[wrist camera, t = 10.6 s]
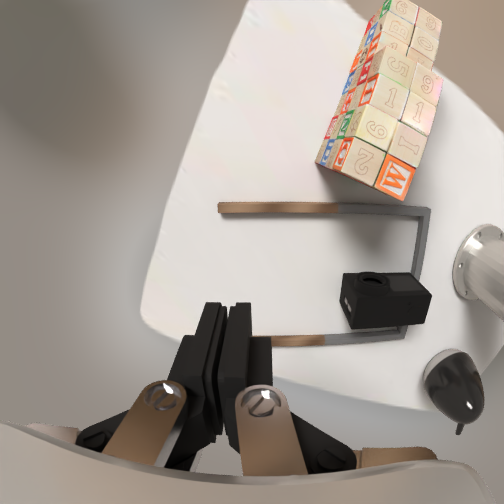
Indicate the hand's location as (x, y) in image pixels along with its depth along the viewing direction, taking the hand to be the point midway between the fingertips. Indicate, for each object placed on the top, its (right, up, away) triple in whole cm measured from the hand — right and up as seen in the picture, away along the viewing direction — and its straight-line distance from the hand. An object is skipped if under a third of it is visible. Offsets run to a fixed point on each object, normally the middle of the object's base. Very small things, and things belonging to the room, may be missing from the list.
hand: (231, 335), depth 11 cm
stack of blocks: (+15, +22, +19) cm, 32 cm away
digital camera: (+18, -1, +27) cm, 32 cm away
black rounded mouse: (+35, -17, +32) cm, 50 cm away
